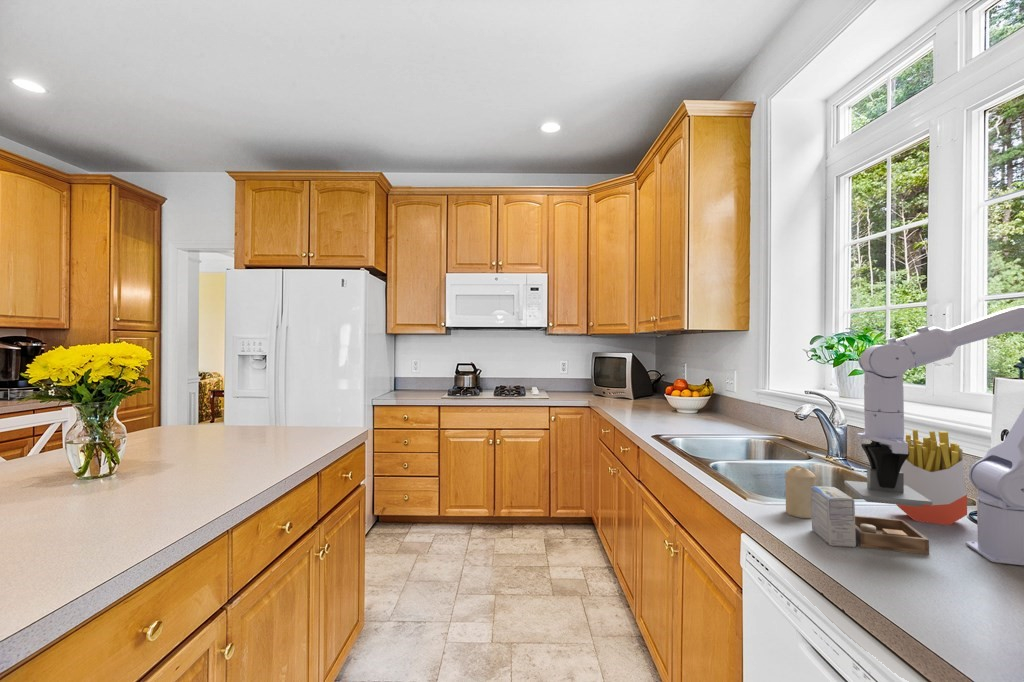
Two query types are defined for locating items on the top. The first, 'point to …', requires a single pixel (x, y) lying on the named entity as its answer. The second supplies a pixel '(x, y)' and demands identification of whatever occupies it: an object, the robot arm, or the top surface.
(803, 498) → the candle
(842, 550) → the top surface
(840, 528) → the medicine box
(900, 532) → the box
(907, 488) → the lid
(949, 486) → the french fries container
